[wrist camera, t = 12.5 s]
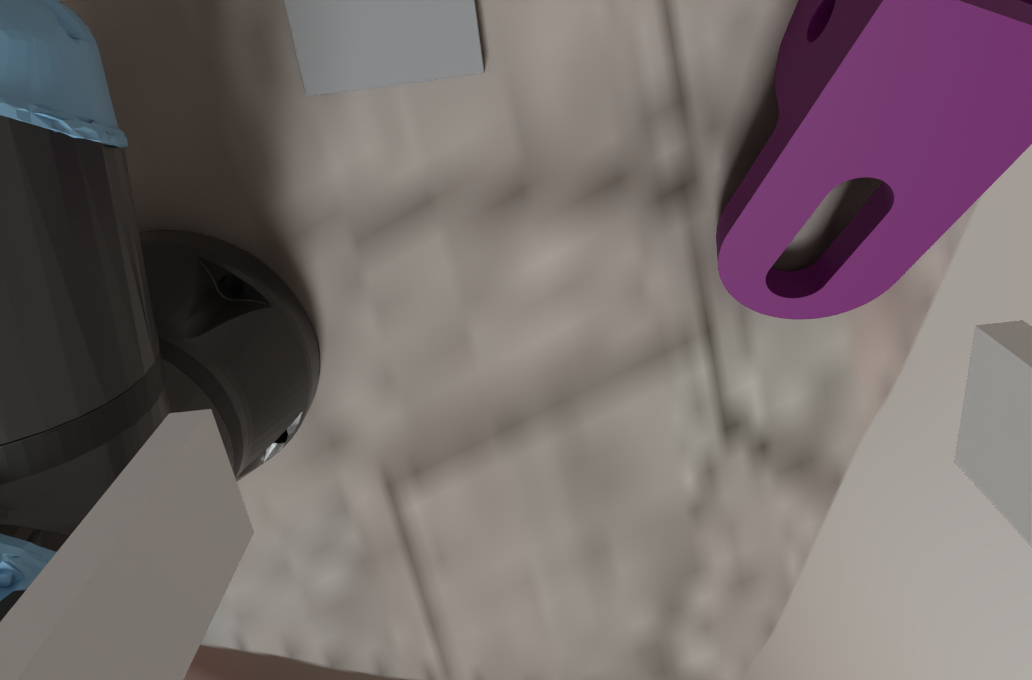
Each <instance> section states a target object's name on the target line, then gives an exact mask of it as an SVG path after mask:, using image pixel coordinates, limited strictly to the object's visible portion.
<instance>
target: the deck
mask: <svg viewBox="0 0 1032 680" xmlns="http://www.w3.org/2000/svg"><path fill="white" fill-rule="evenodd" d="M284 3H285V7H286V12H287V16H288V20H289V24H290V29H291V33H292V37H293V41H294V46H295V50H296V54H297V58H298V63H299V67H300V71H301V75H302V79H303V84H304V88H305V92H306V96H315V95H322V94H330V93H337V92H345V91H353V90H360V89H368V88H375V87H383V86H391V85H398V84H406V83H413V82H421V81H429V80H436V79H444V78H451V77H459V76H466V75H474V74H482V73H484V72H485V71H484V63H483V56H482V48H481V41H480V34H479V26H478V19H477V11H476V4H475V0H284Z"/></svg>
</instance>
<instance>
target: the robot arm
mask: <svg viewBox="0 0 1032 680" xmlns="http://www.w3.org/2000/svg"><path fill="white" fill-rule="evenodd" d="M125 147H128V140H127V137H126V135H125V133H124V132H123V131H121V130H120V129H119V127H118V123H117V120H116V116H115V112H114V109H113V105H112V101H111V98H110V93H109V89H108V85H107V81H106V77H105V72H104V68H103V64H102V60H101V56H100V52H99V49H98V46H97V43H96V40H95V38H94V36H93V34H92V33H91V31H90V30H89V28H88V27H87V25H86V24H85V22H84V21H83V20H82V19H81V18H80V17H79V16H78V15H77V14H76V13H75V12H74V11H73V10H71V9H70V8H69V7H67V6H66V5H65V4H63V3H62V2H60V1H59V0H0V680H183V679H184V676H185V674H186V672H187V670H188V668H189V666H190V664H191V662H192V660H193V658H194V656H195V654H196V651H197V649H198V647H199V645H200V643H201V641H202V639H203V637H204V635H205V633H206V631H207V629H208V627H209V624H210V622H211V620H212V618H213V616H214V614H215V612H216V610H217V608H218V606H219V604H220V602H221V599H222V597H223V595H224V593H225V591H226V589H227V587H228V585H229V583H230V581H231V579H232V577H233V574H234V572H235V570H236V568H237V566H238V564H239V562H240V560H241V558H242V556H243V554H244V552H245V549H246V547H247V545H248V543H249V541H250V539H251V537H252V535H253V533H254V530H253V528H252V525H251V522H250V519H249V516H248V513H247V510H246V507H245V505H244V502H243V499H242V496H241V493H240V490H239V487H238V484H237V481H238V480H240V479H241V478H243V477H244V476H246V475H247V474H248V473H250V472H251V471H253V470H254V469H256V468H257V467H259V466H260V465H261V464H263V463H264V462H266V461H267V460H269V459H270V458H271V457H273V456H274V455H275V454H277V453H278V452H279V451H280V450H281V449H282V448H283V447H284V446H285V445H286V444H287V443H288V442H289V441H290V440H291V439H292V437H293V436H294V435H295V433H296V432H297V430H298V429H299V427H300V426H301V424H302V422H303V420H304V418H305V416H306V414H307V412H308V410H309V408H310V406H311V404H312V401H313V399H314V396H315V393H316V390H317V385H318V380H319V369H320V362H319V351H318V345H317V341H316V337H315V334H314V331H313V328H312V325H311V323H310V321H309V319H308V317H307V314H306V313H305V311H304V309H303V307H302V306H301V304H300V302H299V301H298V300H297V298H296V297H295V295H294V294H293V293H292V291H291V290H290V289H289V288H288V287H287V285H286V284H285V283H284V282H283V281H282V280H281V279H280V278H279V277H278V276H277V275H276V274H275V273H274V272H272V271H271V270H270V269H269V268H268V267H267V266H265V265H264V264H263V263H261V262H260V261H259V260H257V259H256V258H254V257H253V256H251V255H249V254H248V253H246V252H244V251H242V250H241V249H239V248H237V247H235V246H233V245H230V244H228V243H226V242H223V241H221V240H218V239H215V238H212V237H208V236H205V235H201V234H196V233H191V232H184V231H172V230H159V231H149V232H142V233H139V232H138V226H137V220H136V215H135V209H134V203H133V197H132V192H131V186H130V180H129V175H128V169H127V163H126V158H125V152H124V148H125ZM954 462H955V463H956V465H957V466H958V467H959V468H960V469H961V470H962V471H963V472H964V473H965V475H966V476H967V477H968V478H969V479H970V480H971V481H972V482H973V483H974V484H975V485H976V487H977V488H978V489H979V490H980V491H981V492H982V493H983V494H984V495H985V496H986V498H987V499H988V500H989V501H990V502H991V503H992V504H993V505H994V506H995V507H996V508H997V510H998V511H999V512H1000V513H1001V514H1002V515H1003V516H1004V517H1005V518H1006V519H1007V520H1008V522H1009V523H1010V524H1011V525H1012V526H1013V527H1014V528H1015V529H1016V530H1017V531H1018V532H1019V534H1020V535H1021V536H1022V537H1023V538H1024V539H1025V540H1026V541H1027V542H1028V544H1029V545H1030V546H1031V547H1032V326H1030V325H1029V324H1027V323H1026V322H1024V321H1023V320H1021V321H1012V322H1003V323H994V324H985V325H976V326H975V331H974V337H973V344H972V350H971V357H970V363H969V370H968V376H967V383H966V389H965V396H964V402H963V409H962V415H961V422H960V428H959V434H958V441H957V447H956V454H955V460H954Z"/></svg>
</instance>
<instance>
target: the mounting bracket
mask: <svg viewBox="0 0 1032 680" xmlns="http://www.w3.org/2000/svg"><path fill="white" fill-rule="evenodd" d="M775 90H776V96H777V102H778V108H779V118H778V122H777V125H776V127H775V129H774V131H773V133H772V135H771V136H770V138H769V140H768V141H767V143H766V144H765V146H764V147H763V149H762V150H761V152H760V154H759V155H758V157H757V158H756V160H755V161H754V163H753V165H752V166H751V168H750V169H749V171H748V172H747V174H746V176H745V177H744V179H743V180H742V182H741V183H740V185H739V187H738V188H737V190H736V191H735V193H734V194H733V196H732V198H731V199H730V201H729V202H728V204H727V205H726V207H725V209H724V211H723V212H722V214H721V217H720V219H719V222H718V226H717V233H716V242H717V257H718V270H719V275H720V278H721V280H722V283H723V285H724V286H725V288H726V289H727V291H728V292H729V293H730V294H731V295H732V296H733V297H734V298H735V299H736V300H737V301H738V302H740V303H741V304H743V305H744V306H746V307H748V308H750V309H752V310H754V311H756V312H759V313H762V314H765V315H769V316H773V317H778V318H786V319H814V318H822V317H828V316H832V315H837V314H840V313H844V312H847V311H850V310H852V309H855V308H857V307H860V306H862V305H864V304H866V303H868V302H870V301H872V300H874V299H875V298H877V297H878V296H880V295H881V294H883V293H884V292H885V291H887V290H888V289H889V288H890V287H891V286H892V285H893V284H895V283H896V282H897V281H898V280H899V279H900V278H901V277H902V276H903V275H904V274H905V273H906V271H907V270H908V269H909V268H910V267H911V266H912V265H913V264H914V263H915V262H916V261H917V260H918V259H919V258H920V257H921V256H922V255H923V254H924V253H925V252H926V251H927V250H928V249H929V248H930V247H931V246H932V245H933V244H934V243H935V242H936V241H937V240H938V239H939V238H940V237H941V236H942V235H943V234H944V233H945V232H946V231H947V230H948V229H949V228H950V227H951V226H952V225H953V224H954V223H955V222H956V221H957V220H958V219H959V218H960V216H961V215H962V214H963V213H964V212H965V211H966V210H967V209H968V208H969V207H970V206H971V205H972V204H973V203H974V202H975V201H976V200H977V199H978V198H979V197H980V196H981V195H982V194H983V193H984V192H985V191H986V190H987V189H988V188H989V187H990V186H991V185H992V184H993V183H994V182H995V181H996V180H997V179H998V178H999V177H1000V176H1001V175H1002V174H1003V173H1004V172H1005V171H1006V170H1007V169H1008V168H1009V167H1010V165H1012V164H1013V163H1014V161H1015V160H1016V159H1017V158H1018V157H1019V156H1020V155H1021V154H1022V153H1023V152H1024V151H1025V150H1026V149H1027V148H1028V147H1029V146H1030V145H1031V144H1032V0H799V1H798V3H797V6H796V8H795V11H794V13H793V15H792V18H791V20H790V23H789V25H788V28H787V30H786V32H785V35H784V37H783V40H782V43H781V46H780V50H779V54H778V59H777V64H776V72H775ZM863 177H869V178H876V179H879V180H882V181H883V182H882V183H881V185H880V186H879V187H878V188H877V190H876V191H875V192H874V193H873V195H872V196H871V197H870V198H869V199H868V201H867V202H866V203H865V204H864V205H863V207H862V208H861V209H860V210H859V211H858V213H857V214H856V215H855V216H854V217H853V219H852V220H851V221H850V222H849V223H848V225H847V226H846V227H845V228H844V229H843V231H842V232H841V233H840V234H839V235H838V237H837V238H836V239H835V240H834V241H833V243H832V244H831V245H830V246H829V248H828V249H827V250H826V251H825V252H824V254H823V255H822V256H821V257H820V258H819V259H818V260H817V261H816V262H815V263H814V264H812V265H811V266H809V267H807V268H804V269H801V270H797V271H780V270H776V269H774V268H772V266H773V264H774V263H775V262H776V260H777V259H778V258H779V256H780V255H781V254H782V253H783V251H784V250H785V249H786V247H787V246H788V245H789V243H790V242H791V241H792V240H793V238H794V237H795V236H796V234H797V233H798V232H799V230H800V229H801V228H802V226H803V225H804V224H805V223H806V221H807V220H808V219H809V217H810V216H811V215H812V213H813V212H814V211H815V210H816V208H817V207H818V206H819V204H820V203H821V202H822V200H823V199H824V198H825V197H826V195H827V194H828V193H829V192H830V191H831V190H832V189H833V188H835V187H836V186H838V185H839V184H841V183H843V182H845V181H848V180H851V179H855V178H863Z"/></svg>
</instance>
